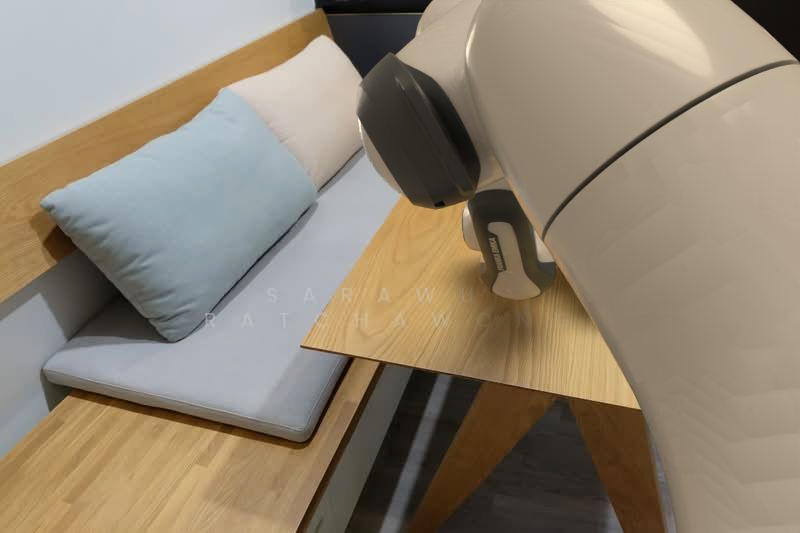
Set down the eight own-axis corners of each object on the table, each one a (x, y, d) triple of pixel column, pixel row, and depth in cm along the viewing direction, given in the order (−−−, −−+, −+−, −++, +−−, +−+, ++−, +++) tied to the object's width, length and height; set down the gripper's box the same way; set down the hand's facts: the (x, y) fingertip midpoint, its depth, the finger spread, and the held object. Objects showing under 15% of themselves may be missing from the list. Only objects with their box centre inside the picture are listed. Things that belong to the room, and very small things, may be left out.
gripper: (581, 250, 68) (697, 253, 65) (569, 177, 84) (662, 176, 81) (576, 287, 72) (685, 291, 69) (565, 210, 88) (654, 211, 85)
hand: (672, 229), depth 75 cm, fingers closed on doll, 5 cm apart
